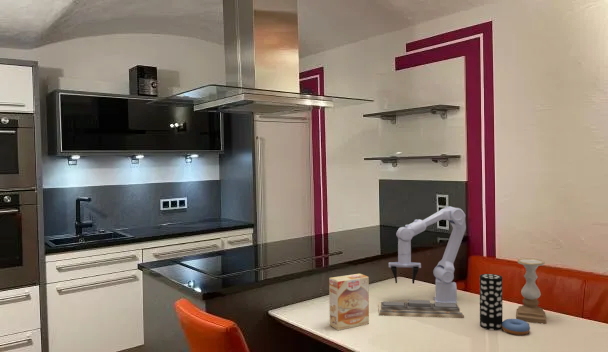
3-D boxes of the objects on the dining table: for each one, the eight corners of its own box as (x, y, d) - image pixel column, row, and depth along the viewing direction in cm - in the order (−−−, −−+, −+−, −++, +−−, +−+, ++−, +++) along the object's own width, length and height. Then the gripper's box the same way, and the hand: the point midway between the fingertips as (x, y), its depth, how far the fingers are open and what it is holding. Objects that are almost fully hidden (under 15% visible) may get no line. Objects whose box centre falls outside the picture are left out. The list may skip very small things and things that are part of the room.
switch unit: (457, 306, 214) (457, 301, 214) (464, 318, 200) (464, 311, 200) (378, 304, 219) (378, 299, 219) (379, 315, 205) (379, 309, 205)
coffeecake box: (338, 330, 187) (337, 281, 187) (329, 325, 194) (328, 277, 193) (369, 324, 194) (369, 276, 193) (359, 319, 201) (359, 272, 200)
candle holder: (545, 315, 201) (545, 259, 200) (546, 324, 191) (546, 264, 190) (516, 312, 206) (516, 257, 205) (515, 320, 196) (516, 262, 195)
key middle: (429, 303, 211) (429, 300, 211) (430, 307, 206) (430, 303, 206) (408, 303, 213) (408, 299, 212) (409, 306, 208) (409, 303, 208)
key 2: (455, 306, 210) (455, 303, 210) (457, 310, 205) (457, 307, 205) (433, 306, 211) (433, 302, 211) (435, 309, 206) (435, 306, 206)
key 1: (403, 305, 213) (403, 302, 213) (404, 308, 208) (404, 305, 208) (383, 304, 214) (383, 301, 214) (383, 308, 209) (383, 304, 209)
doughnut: (528, 337, 177) (527, 324, 177) (499, 334, 182) (499, 321, 183) (531, 331, 185) (531, 319, 186) (504, 328, 191) (503, 316, 191)
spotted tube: (501, 324, 192) (501, 274, 191) (503, 331, 184) (503, 279, 183) (479, 322, 194) (479, 273, 194) (480, 329, 187) (479, 278, 186)
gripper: (388, 255, 217) (389, 284, 218) (421, 255, 215) (421, 285, 216) (388, 252, 224) (388, 280, 225) (420, 252, 222) (420, 281, 223)
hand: (404, 282), depth 221 cm, fingers open, 7 cm apart
